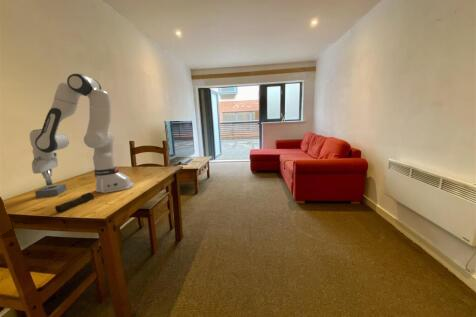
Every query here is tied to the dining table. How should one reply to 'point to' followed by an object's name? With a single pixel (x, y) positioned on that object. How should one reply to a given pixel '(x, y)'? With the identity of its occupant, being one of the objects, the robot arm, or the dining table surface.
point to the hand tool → (74, 202)
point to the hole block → (50, 190)
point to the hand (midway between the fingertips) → (48, 176)
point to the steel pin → (49, 179)
